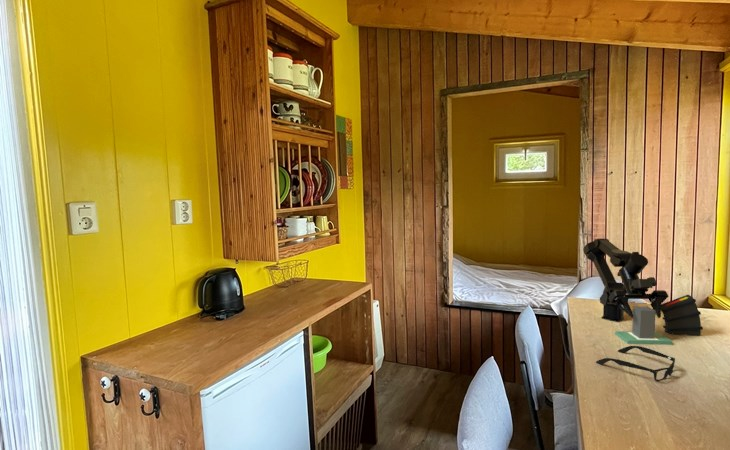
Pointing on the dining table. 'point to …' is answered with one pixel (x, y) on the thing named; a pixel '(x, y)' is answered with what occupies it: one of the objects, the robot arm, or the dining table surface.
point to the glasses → (628, 364)
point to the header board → (633, 339)
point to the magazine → (682, 316)
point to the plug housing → (643, 322)
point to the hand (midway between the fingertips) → (646, 317)
